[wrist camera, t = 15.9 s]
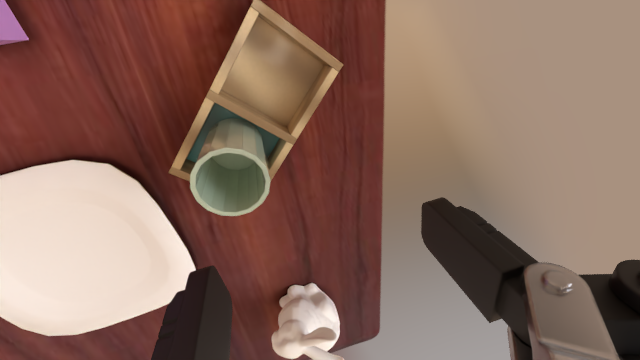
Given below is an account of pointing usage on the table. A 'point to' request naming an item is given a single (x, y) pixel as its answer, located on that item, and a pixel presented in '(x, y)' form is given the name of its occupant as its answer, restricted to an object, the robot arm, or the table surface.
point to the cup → (231, 169)
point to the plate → (84, 248)
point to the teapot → (9, 26)
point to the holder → (263, 87)
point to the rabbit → (306, 324)
